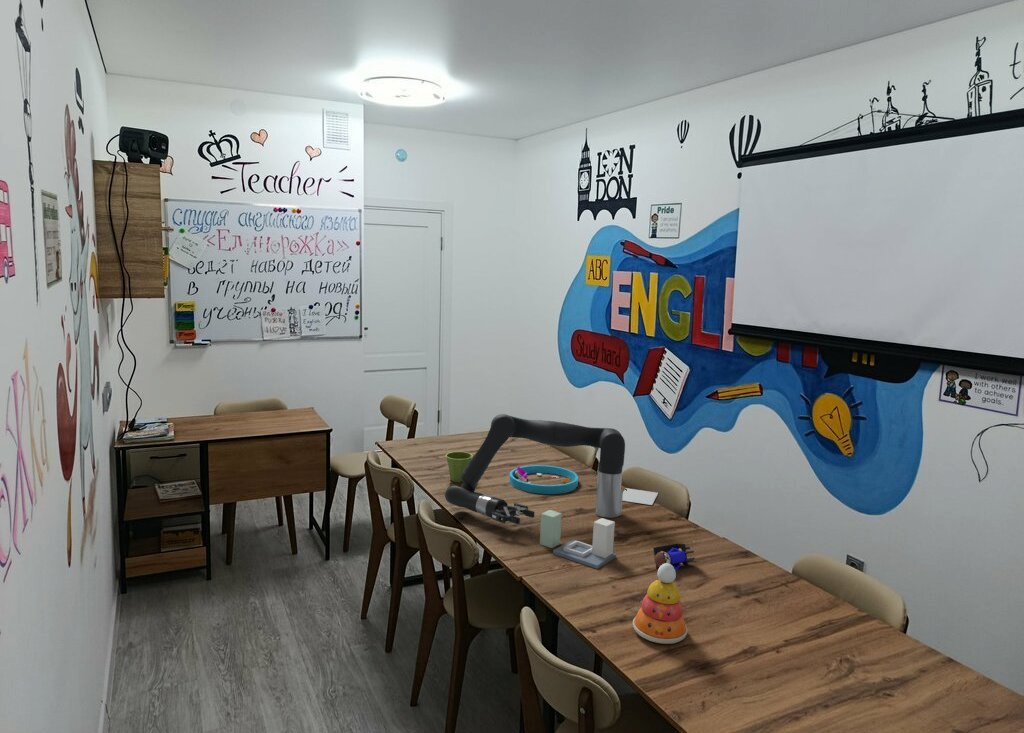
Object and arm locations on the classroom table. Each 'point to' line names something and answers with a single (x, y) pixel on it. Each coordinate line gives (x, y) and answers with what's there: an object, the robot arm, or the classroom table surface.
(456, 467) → the plant pot
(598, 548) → the standing pillar
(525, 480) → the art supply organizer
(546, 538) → the sage pillar
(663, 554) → the character figurine
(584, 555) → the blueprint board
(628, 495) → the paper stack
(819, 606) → the classroom table surface
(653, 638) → the stacking toy
